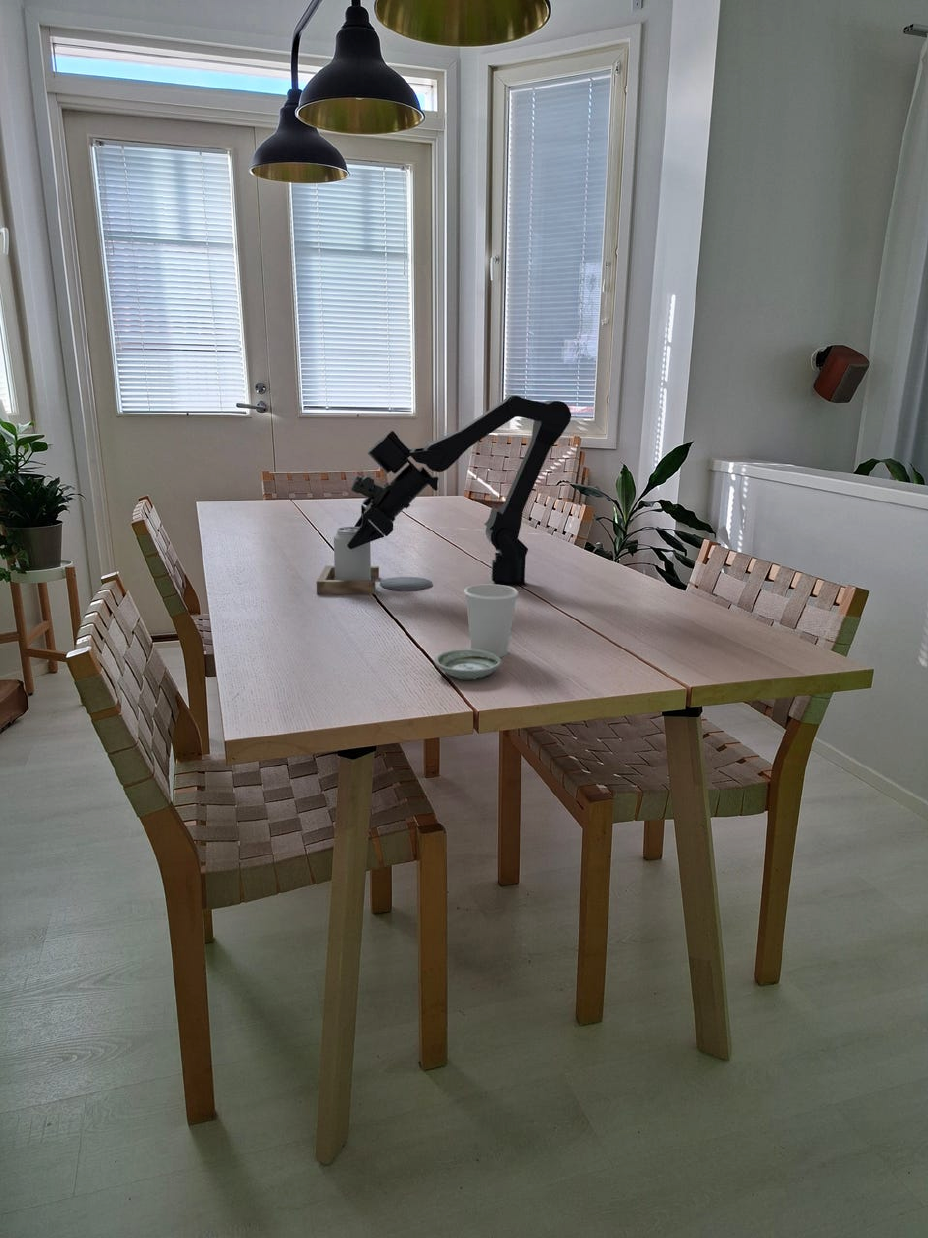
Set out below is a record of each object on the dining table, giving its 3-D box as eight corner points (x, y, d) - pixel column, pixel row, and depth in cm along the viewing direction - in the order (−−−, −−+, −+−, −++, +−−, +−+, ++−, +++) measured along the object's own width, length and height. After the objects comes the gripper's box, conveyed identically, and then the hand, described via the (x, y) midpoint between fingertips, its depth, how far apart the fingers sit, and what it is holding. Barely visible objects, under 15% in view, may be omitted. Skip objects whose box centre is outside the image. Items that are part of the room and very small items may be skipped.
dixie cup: (484, 640, 133) (486, 581, 130) (526, 651, 128) (528, 590, 125) (452, 652, 126) (452, 590, 124) (494, 664, 121) (496, 599, 119)
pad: (431, 578, 175) (431, 576, 175) (432, 591, 164) (432, 589, 164) (381, 578, 174) (381, 576, 174) (378, 590, 164) (378, 588, 164)
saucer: (421, 677, 116) (421, 661, 115) (457, 659, 124) (457, 644, 123) (478, 691, 111) (478, 674, 110) (512, 672, 119) (513, 656, 118)
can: (368, 590, 164) (367, 531, 161) (331, 589, 164) (330, 530, 161) (373, 581, 171) (372, 525, 168) (338, 580, 172) (336, 524, 168)
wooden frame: (378, 577, 175) (378, 566, 175) (375, 594, 161) (374, 582, 160) (325, 576, 175) (325, 565, 174) (317, 593, 160) (316, 581, 160)
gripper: (373, 457, 170) (321, 508, 172) (376, 465, 153) (318, 522, 154) (410, 495, 174) (358, 545, 175) (417, 507, 156) (359, 563, 157)
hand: (348, 543), depth 165 cm, fingers open, 9 cm apart
